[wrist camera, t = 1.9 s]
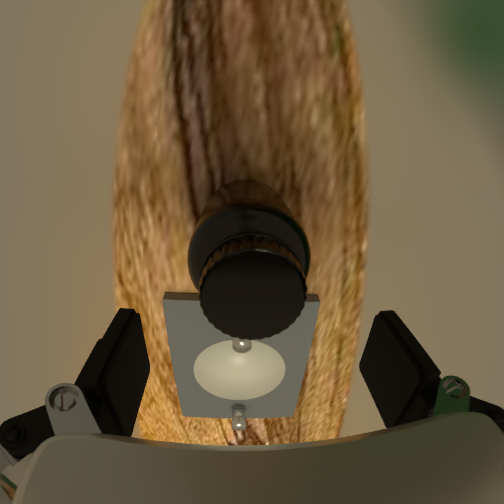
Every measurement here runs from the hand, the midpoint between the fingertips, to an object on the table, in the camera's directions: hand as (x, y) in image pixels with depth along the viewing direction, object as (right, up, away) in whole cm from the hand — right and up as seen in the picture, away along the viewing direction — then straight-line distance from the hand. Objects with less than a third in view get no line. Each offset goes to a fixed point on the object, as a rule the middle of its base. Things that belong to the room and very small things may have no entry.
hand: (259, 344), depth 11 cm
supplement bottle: (-1, +6, +13) cm, 14 cm away
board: (-2, -9, +19) cm, 21 cm away
